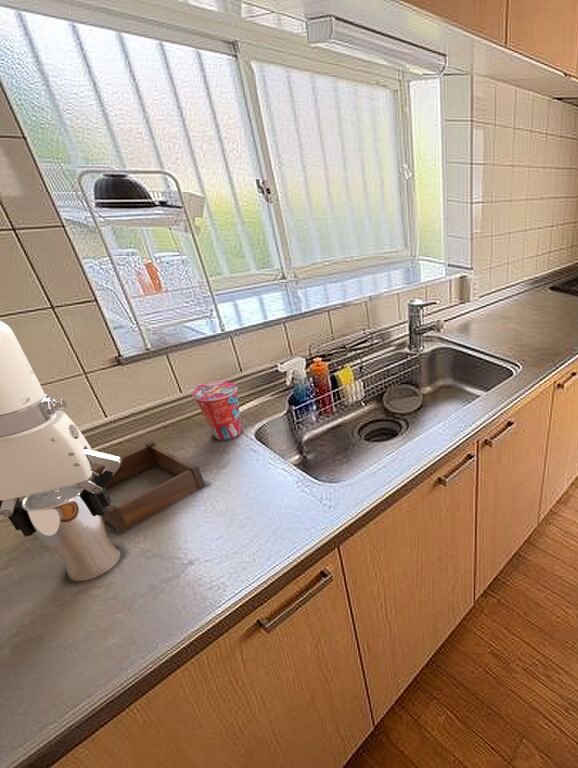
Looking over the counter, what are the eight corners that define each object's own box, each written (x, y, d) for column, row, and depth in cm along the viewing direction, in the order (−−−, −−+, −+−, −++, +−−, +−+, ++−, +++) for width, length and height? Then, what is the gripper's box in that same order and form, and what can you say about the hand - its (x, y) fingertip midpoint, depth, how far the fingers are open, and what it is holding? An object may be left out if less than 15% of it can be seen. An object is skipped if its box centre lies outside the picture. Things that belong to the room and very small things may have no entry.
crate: (75, 502, 78) (62, 479, 75) (160, 461, 89) (151, 440, 86) (121, 535, 72) (109, 511, 69) (206, 487, 83) (198, 465, 80)
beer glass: (122, 541, 70) (86, 471, 64) (127, 568, 66) (89, 495, 59) (64, 565, 66) (19, 491, 59) (66, 594, 62) (17, 519, 55)
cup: (256, 426, 103) (245, 382, 97) (236, 446, 95) (222, 400, 89) (218, 424, 102) (204, 380, 97) (194, 444, 95) (178, 398, 89)
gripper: (105, 389, 61) (147, 485, 69) (-82, 419, 52) (-9, 525, 60) (95, 413, 55) (142, 514, 63) (-116, 451, 46) (-30, 563, 54)
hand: (68, 518), depth 61 cm, fingers closed on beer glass, 7 cm apart
